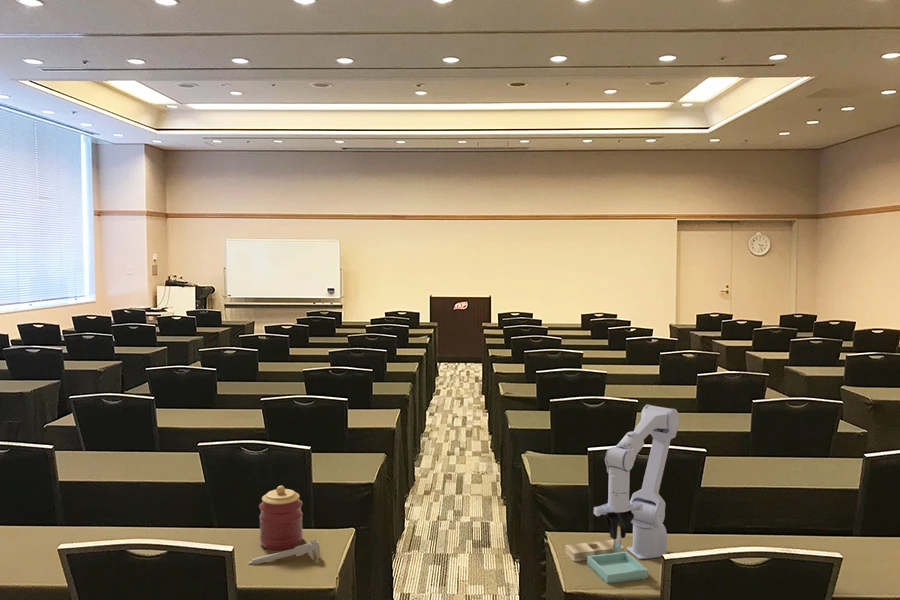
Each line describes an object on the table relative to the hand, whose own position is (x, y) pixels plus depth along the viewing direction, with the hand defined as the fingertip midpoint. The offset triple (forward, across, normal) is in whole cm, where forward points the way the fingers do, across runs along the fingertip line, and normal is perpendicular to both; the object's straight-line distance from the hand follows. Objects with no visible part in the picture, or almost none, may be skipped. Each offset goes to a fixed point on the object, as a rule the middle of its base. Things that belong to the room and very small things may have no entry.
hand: (617, 537), depth 210 cm
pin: (+4, 0, 0) cm, 4 cm away
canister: (+10, +88, -49) cm, 101 cm away
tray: (+10, 0, 0) cm, 10 cm away
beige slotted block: (+10, 0, -12) cm, 16 cm away
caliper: (+10, +88, -35) cm, 96 cm away
